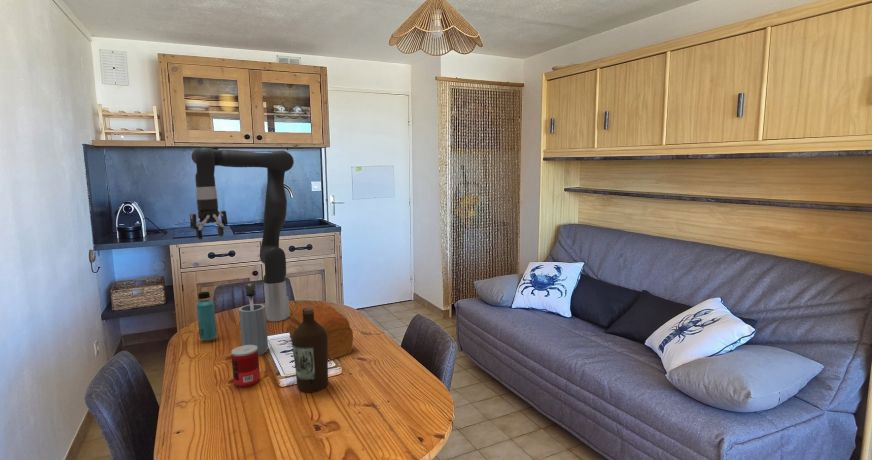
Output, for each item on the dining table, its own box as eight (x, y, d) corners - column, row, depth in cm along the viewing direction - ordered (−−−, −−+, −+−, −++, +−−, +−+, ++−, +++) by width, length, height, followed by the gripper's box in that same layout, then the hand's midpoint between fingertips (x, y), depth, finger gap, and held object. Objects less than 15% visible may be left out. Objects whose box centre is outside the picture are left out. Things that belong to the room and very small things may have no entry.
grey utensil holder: (261, 343, 185) (257, 301, 182) (276, 348, 179) (273, 305, 177) (236, 352, 177) (232, 308, 174) (251, 358, 171) (247, 313, 169)
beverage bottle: (220, 337, 192) (216, 290, 189) (211, 344, 186) (206, 294, 183) (205, 337, 193) (200, 289, 190) (196, 343, 186) (190, 294, 183)
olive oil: (307, 376, 156) (302, 302, 152) (336, 380, 152) (332, 304, 149) (288, 391, 146) (282, 312, 142) (318, 395, 142) (313, 315, 139)
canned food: (265, 377, 155) (262, 345, 154) (248, 389, 148) (245, 355, 146) (246, 375, 158) (243, 343, 156) (228, 385, 150) (225, 352, 149)
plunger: (257, 342, 181) (252, 281, 178) (267, 345, 178) (261, 283, 174) (243, 347, 176) (237, 285, 173) (252, 351, 173) (247, 287, 169)
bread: (316, 364, 165) (314, 321, 162) (286, 343, 185) (284, 304, 183) (357, 352, 175) (355, 310, 172) (325, 333, 195) (322, 295, 193)
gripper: (194, 199, 183) (198, 241, 186) (228, 196, 195) (232, 235, 197) (184, 199, 188) (188, 239, 190) (218, 196, 199) (222, 234, 201)
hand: (210, 237), depth 193 cm, fingers open, 8 cm apart
